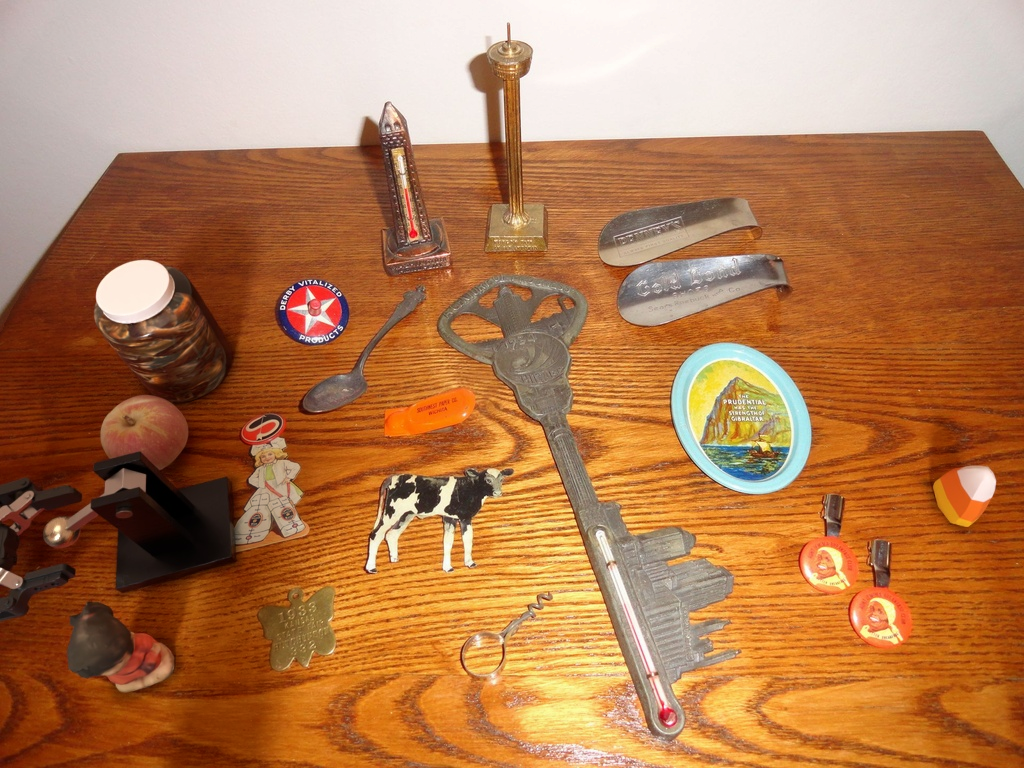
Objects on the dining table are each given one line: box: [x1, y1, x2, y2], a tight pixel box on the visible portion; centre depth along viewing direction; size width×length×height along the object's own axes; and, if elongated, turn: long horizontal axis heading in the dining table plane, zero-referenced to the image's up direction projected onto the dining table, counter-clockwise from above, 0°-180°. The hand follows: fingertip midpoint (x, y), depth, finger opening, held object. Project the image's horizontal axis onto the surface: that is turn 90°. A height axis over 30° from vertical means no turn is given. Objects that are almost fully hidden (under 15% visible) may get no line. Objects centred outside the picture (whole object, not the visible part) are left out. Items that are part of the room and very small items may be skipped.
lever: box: [42, 468, 146, 549], centre depth 69 cm, size 13×3×3 cm, turn 106°
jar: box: [93, 259, 234, 403], centre depth 84 cm, size 12×12×15 cm
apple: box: [100, 394, 189, 471], centre depth 80 cm, size 9×9×8 cm
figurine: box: [66, 600, 176, 693], centre depth 64 cm, size 6×6×12 cm
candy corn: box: [932, 465, 997, 528], centre depth 72 cm, size 6×3×8 cm, turn 5°
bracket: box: [90, 451, 237, 594], centre depth 71 cm, size 12×10×14 cm
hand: (74, 530), depth 70 cm, fingers open, 8 cm apart
